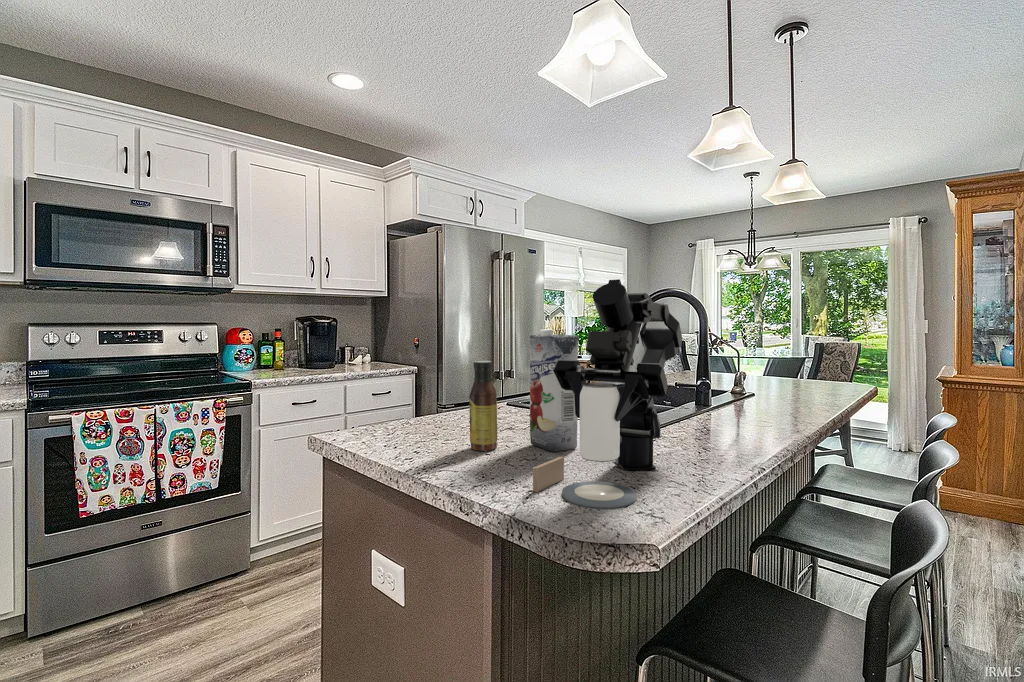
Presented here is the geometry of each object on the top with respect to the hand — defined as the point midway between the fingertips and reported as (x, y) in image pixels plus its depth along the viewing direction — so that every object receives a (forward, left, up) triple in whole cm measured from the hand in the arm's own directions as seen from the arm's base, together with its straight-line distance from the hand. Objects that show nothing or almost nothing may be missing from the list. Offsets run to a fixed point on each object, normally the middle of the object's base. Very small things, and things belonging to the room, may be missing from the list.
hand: (596, 417), depth 84 cm
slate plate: (-1, -1, -13) cm, 13 cm away
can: (-1, -1, -7) cm, 7 cm away
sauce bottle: (+18, -34, -13) cm, 41 cm away
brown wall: (+7, -7, -13) cm, 16 cm away
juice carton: (+2, -35, -13) cm, 38 cm away
